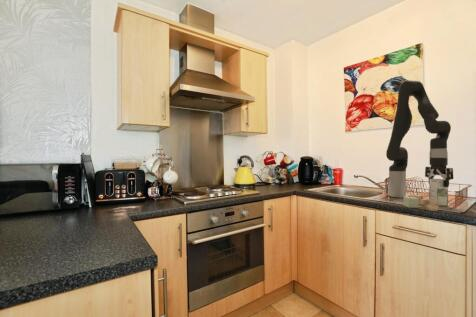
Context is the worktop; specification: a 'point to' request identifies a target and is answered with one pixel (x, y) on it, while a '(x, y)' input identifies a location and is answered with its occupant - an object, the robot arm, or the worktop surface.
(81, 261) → the worktop surface
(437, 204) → the beech cube
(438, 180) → the syrup box
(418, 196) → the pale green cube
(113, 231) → the worktop surface
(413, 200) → the sage cube
